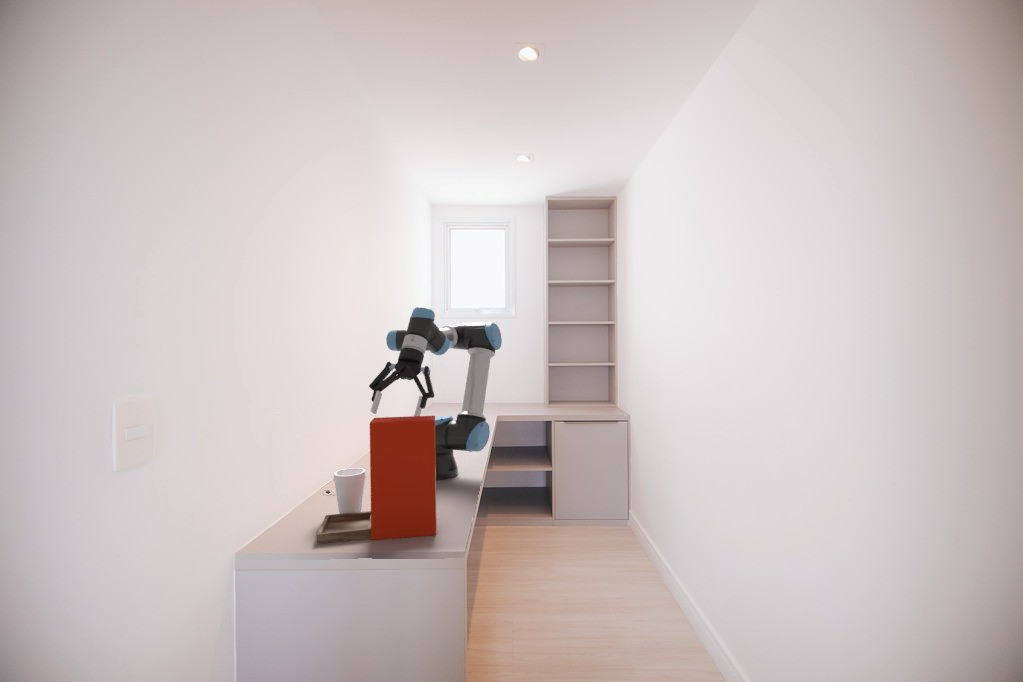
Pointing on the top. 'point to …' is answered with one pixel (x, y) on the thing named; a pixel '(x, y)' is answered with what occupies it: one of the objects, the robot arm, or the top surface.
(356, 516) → the square wooden tray
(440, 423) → the robot arm
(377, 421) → the file binder
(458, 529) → the top surface
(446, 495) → the top surface
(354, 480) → the foam cup
